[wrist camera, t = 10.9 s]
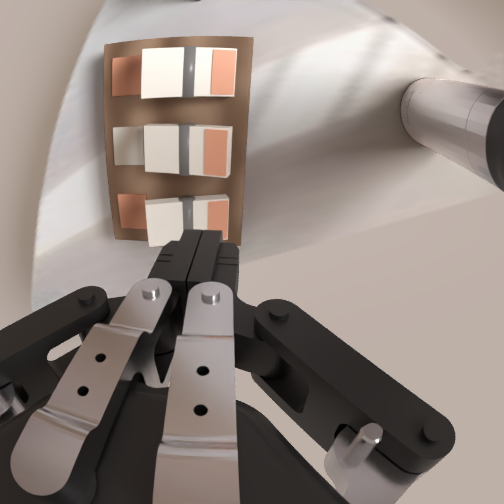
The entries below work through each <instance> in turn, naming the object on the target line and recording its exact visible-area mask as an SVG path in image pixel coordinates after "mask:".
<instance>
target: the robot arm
mask: <svg viewBox="0 0 504 504" xmlns="http://www.w3.org/2000/svg"><path fill="white" fill-rule="evenodd" d="M401 118H402V122H403V125H404V127H405V129H406V131H407V133H408V134H409V135H410V136H411V137H412V138H413V139H414V140H415V141H416V142H418V143H420V144H422V145H424V146H426V147H428V148H430V149H432V150H433V151H435V152H437V153H439V154H441V155H443V156H445V157H446V158H448V159H450V160H452V161H454V162H455V163H457V164H459V165H461V166H462V167H464V168H466V169H468V170H469V171H471V172H473V173H474V174H476V175H478V176H479V177H481V178H483V179H485V180H486V181H488V182H489V183H491V184H493V185H494V186H496V187H497V188H499V189H500V190H502V191H503V192H504V89H499V88H494V87H488V86H483V85H477V84H471V83H464V82H458V81H450V80H443V79H432V78H423V79H419V80H417V81H415V82H414V83H412V84H411V85H410V86H409V87H408V89H407V90H406V91H405V93H404V95H403V98H402V102H401ZM238 275H239V249H238V248H237V246H236V245H235V243H223V232H222V230H204V231H203V230H200V229H184V231H183V233H182V236H181V238H180V240H179V241H174V240H171V241H170V242H168V243H167V244H166V245H165V246H163V248H162V250H161V252H160V254H159V256H158V258H157V260H156V262H155V264H154V266H153V268H152V270H151V272H150V274H149V276H148V278H147V279H144V280H141V281H139V282H137V283H136V284H135V285H133V287H132V288H131V289H130V291H129V292H128V294H127V296H123V297H116V298H109V299H108V298H107V294H106V292H105V291H104V290H103V289H102V288H100V287H96V286H88V287H83V288H81V289H78V290H76V291H74V292H72V293H70V294H68V295H66V296H64V297H62V298H61V299H59V300H57V301H55V302H53V303H51V304H49V305H47V306H45V307H43V308H41V309H39V310H37V311H35V312H34V313H32V314H30V315H28V316H26V317H24V318H22V319H20V320H19V321H17V322H15V323H13V324H11V325H9V326H7V327H5V328H4V329H2V330H0V504H395V503H396V501H397V500H398V499H399V498H400V497H401V496H402V495H403V494H404V492H405V491H406V490H407V489H408V488H409V487H410V486H411V484H413V483H414V482H415V481H416V480H418V479H419V478H420V477H421V476H423V475H424V474H425V473H426V472H428V471H429V470H430V469H431V468H432V467H433V466H435V465H436V464H437V463H438V462H439V461H440V460H442V459H443V458H444V457H445V456H446V455H447V454H448V453H449V452H450V451H451V450H452V448H453V446H454V443H455V431H454V428H453V426H452V424H451V422H450V421H449V420H448V419H447V418H446V417H445V416H443V415H442V414H441V413H439V412H438V411H436V410H435V409H434V408H432V407H431V406H429V405H428V404H427V403H426V402H424V401H423V400H421V399H420V398H418V397H417V396H416V395H415V394H413V393H412V392H410V391H409V390H408V389H407V388H405V387H404V386H403V385H401V384H400V383H398V382H397V381H396V380H394V379H393V378H392V377H390V376H389V375H388V374H386V373H385V372H384V371H382V370H381V369H380V368H378V367H377V366H376V365H374V364H373V363H372V362H370V361H369V360H367V359H366V358H365V357H364V356H362V355H361V354H360V353H358V352H357V351H355V350H354V349H353V348H352V347H350V346H349V345H347V344H346V343H345V342H344V341H342V340H341V339H340V338H338V337H337V336H336V335H334V334H333V333H332V332H331V331H329V330H328V329H327V328H325V327H324V326H322V325H321V324H320V323H319V322H317V321H316V320H315V319H313V318H312V317H311V316H310V315H308V314H307V313H306V312H304V311H303V310H301V309H300V308H299V307H298V306H296V305H295V304H293V303H291V302H289V301H286V300H281V299H271V300H267V301H264V302H262V303H261V304H259V305H258V306H257V307H255V306H251V305H248V304H246V303H244V302H242V301H241V300H240V299H239V298H238V297H237V291H238ZM77 334H79V336H80V338H81V341H82V345H80V346H78V347H77V348H75V349H73V350H72V351H70V352H68V353H66V354H65V355H63V356H61V357H59V358H58V359H56V360H54V361H48V360H47V355H48V353H49V351H50V350H51V349H53V348H54V347H56V346H58V345H60V344H61V343H63V342H64V341H66V340H68V339H70V338H72V337H74V336H75V335H77ZM235 368H238V369H242V370H244V371H248V372H251V375H252V378H253V380H254V381H255V382H256V383H257V384H258V385H259V386H260V387H261V388H262V389H263V390H264V392H265V393H266V394H267V395H268V396H269V397H270V398H271V399H272V400H273V401H274V402H275V403H276V404H277V405H278V406H279V407H280V408H281V409H282V410H283V411H284V412H285V413H286V414H287V415H288V416H289V417H291V419H293V420H294V421H295V422H296V423H297V424H298V425H299V426H300V427H301V428H302V429H303V430H304V431H305V432H306V433H307V434H308V435H309V436H310V437H311V438H312V439H314V440H315V441H316V442H317V443H318V444H319V445H320V446H321V447H322V448H323V449H324V450H325V451H327V454H326V457H325V460H324V466H325V471H326V473H327V475H328V476H329V477H330V478H331V480H332V481H333V483H334V484H335V487H336V490H335V489H334V488H333V487H332V486H331V485H330V484H329V483H328V482H327V481H326V480H325V479H324V478H323V477H322V476H321V475H320V474H319V473H318V472H317V471H316V470H315V469H314V468H313V467H312V466H311V465H310V464H309V463H308V462H307V461H306V460H305V459H304V458H303V457H302V456H301V455H300V453H299V452H298V451H297V450H296V449H295V448H294V447H293V446H292V445H291V444H290V443H289V442H288V441H287V440H286V438H285V437H284V436H283V435H282V434H281V433H280V432H279V431H278V430H277V429H276V428H275V426H274V425H273V424H272V423H271V422H270V421H269V420H268V419H267V418H266V417H265V416H264V415H263V414H262V413H260V412H259V411H257V410H256V409H255V408H253V407H251V406H249V405H247V404H245V403H243V402H241V401H238V400H236V396H235ZM169 382H170V385H169ZM168 385H169V387H168Z"/></svg>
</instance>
